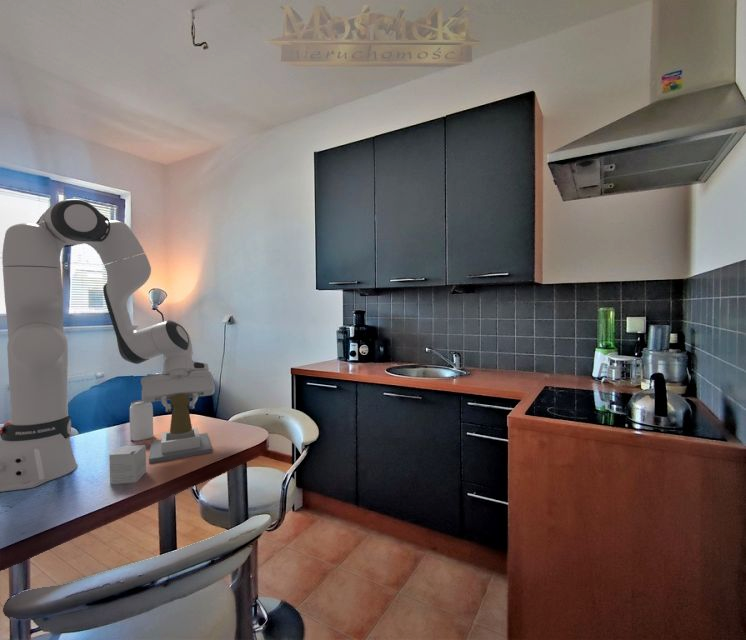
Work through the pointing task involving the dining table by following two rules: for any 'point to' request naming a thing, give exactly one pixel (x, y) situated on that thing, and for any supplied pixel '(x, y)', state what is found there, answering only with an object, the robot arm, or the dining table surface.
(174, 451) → the grey socket base
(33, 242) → the robot arm
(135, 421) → the can
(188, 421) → the brown flared peg
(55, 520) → the dining table surface
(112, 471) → the skincare box
